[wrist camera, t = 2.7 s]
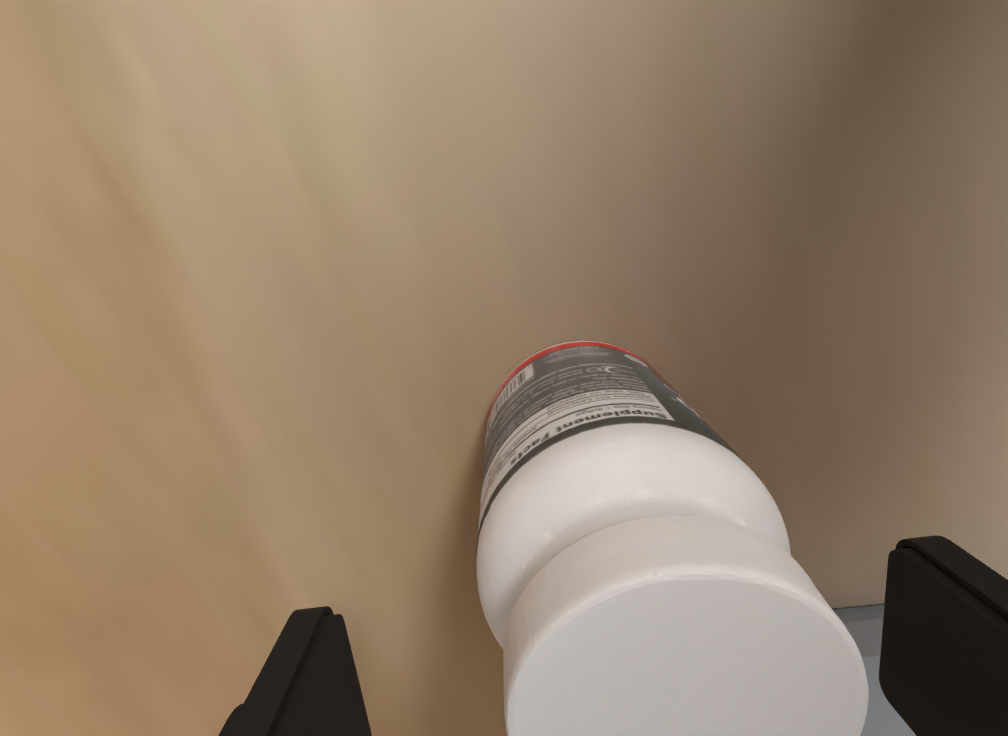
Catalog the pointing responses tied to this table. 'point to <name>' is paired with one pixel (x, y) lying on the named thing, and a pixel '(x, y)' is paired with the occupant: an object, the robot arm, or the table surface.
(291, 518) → the table surface
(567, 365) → the pill bottle
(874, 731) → the slate tray
